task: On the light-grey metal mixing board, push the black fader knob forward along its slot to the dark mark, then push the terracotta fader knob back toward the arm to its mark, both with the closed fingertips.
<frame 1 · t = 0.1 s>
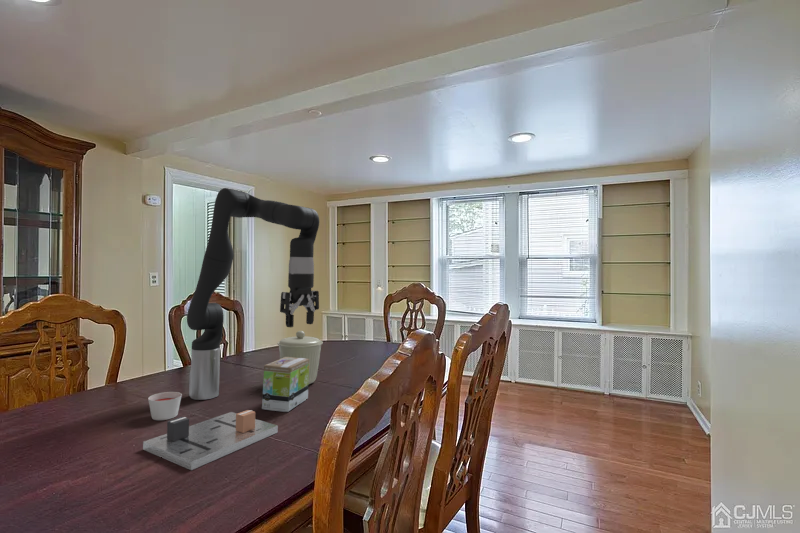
hand: (299, 325, 125), 29 cm above the table, tool pointing down, fingers open, 8 cm apart
fader black: (178, 428, 107), point 4 cm above the table, slide at -5.0 cm
fader terracotta: (245, 420, 113), point 4 cm above the table, slide at 5.0 cm
canister: (299, 383, 167), on the table
tea box: (286, 404, 141), on the table
candle: (164, 417, 127), on the table
mixing board: (214, 440, 110), on the table
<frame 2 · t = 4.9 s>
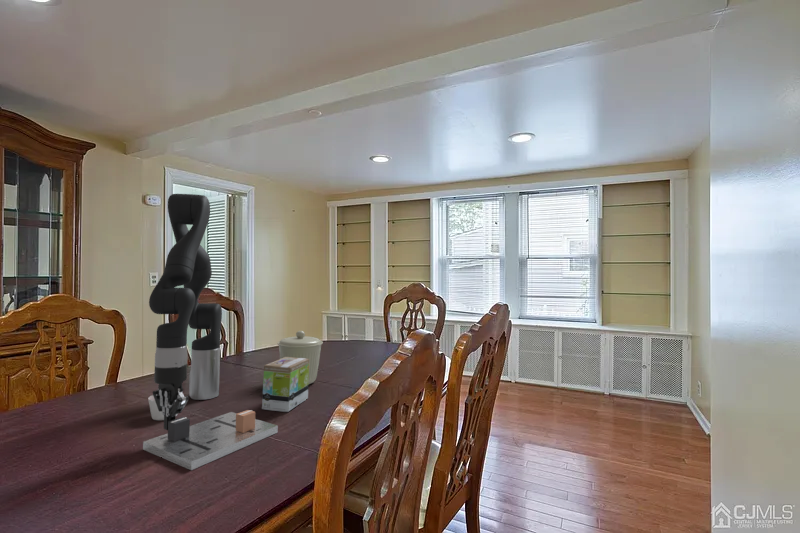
hand: (169, 429, 108), 4 cm above the table, tool pointing down, fingers closed
fader black: (178, 428, 106), point 4 cm above the table, slide at -4.7 cm, touching gripper
everything else where it was.
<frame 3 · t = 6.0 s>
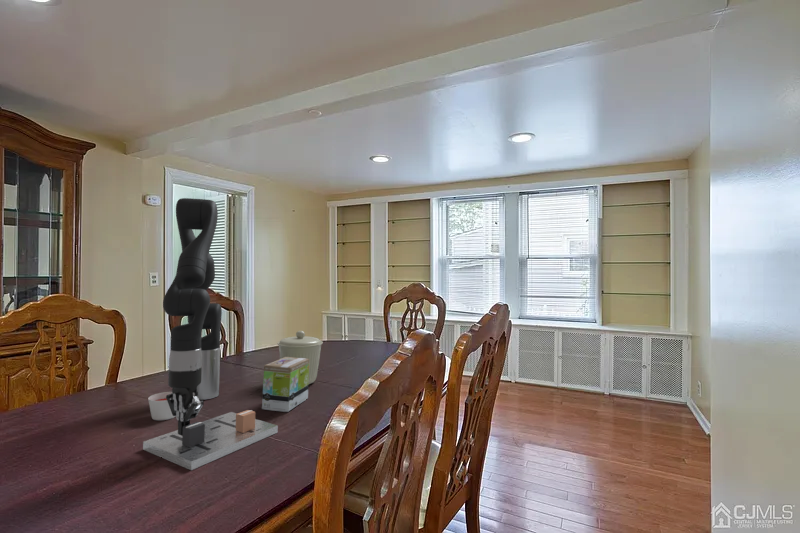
hand: (183, 434, 105), 4 cm above the table, tool pointing down, fingers closed
fader black: (193, 434, 103), point 4 cm above the table, slide at 1.5 cm, touching gripper
everything else where it was.
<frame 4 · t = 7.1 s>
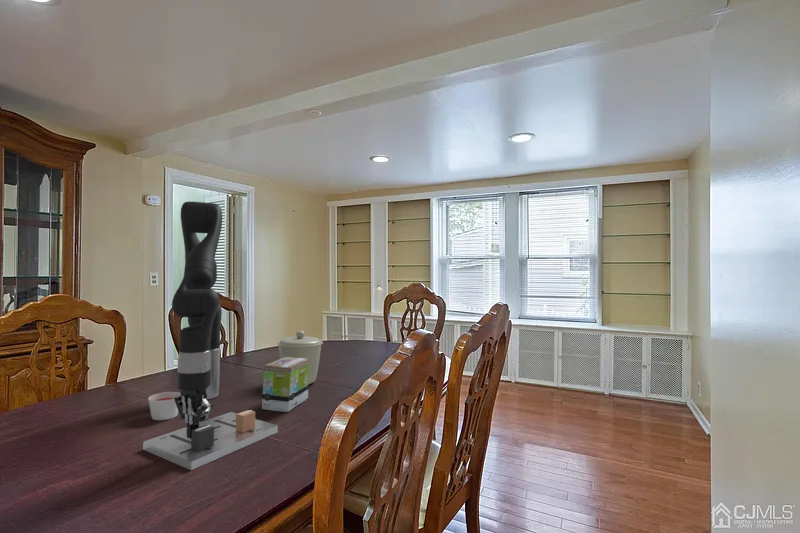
hand: (192, 437, 103), 4 cm above the table, tool pointing down, fingers closed
fader black: (202, 437, 101), point 4 cm above the table, slide at 5.2 cm, touching gripper
everything else where it was.
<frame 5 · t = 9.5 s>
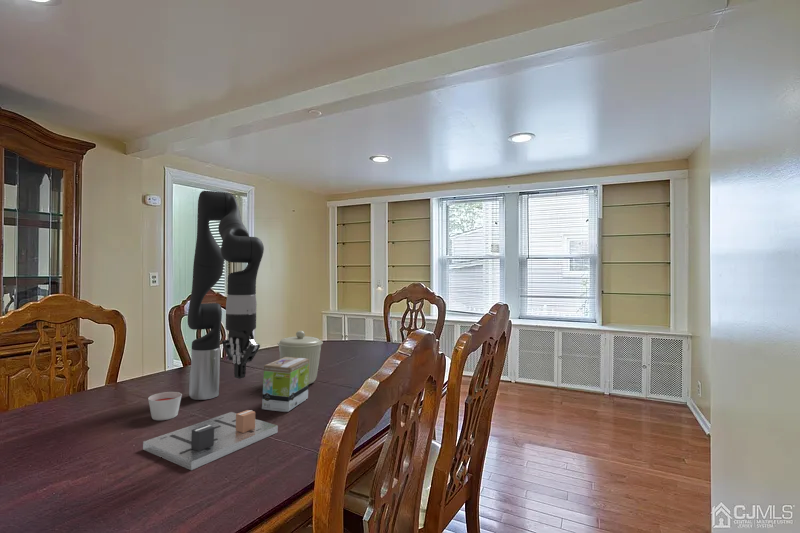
hand: (239, 377, 108), 18 cm above the table, tool pointing down, fingers closed
fader black: (202, 437, 101), point 4 cm above the table, slide at 5.2 cm
everything else where it was.
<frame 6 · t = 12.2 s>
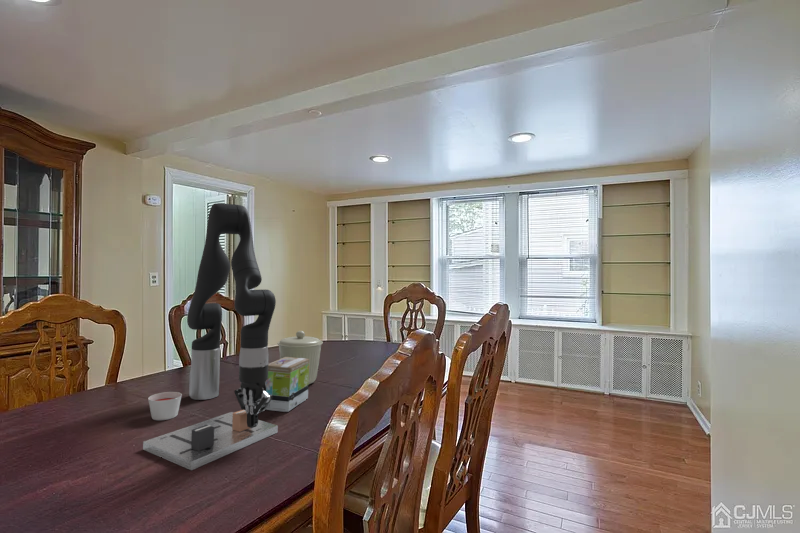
hand: (252, 426, 112), 3 cm above the table, tool pointing down, fingers closed
fader terracotta: (242, 419, 113), point 4 cm above the table, slide at 3.6 cm, touching gripper
everything else where it was.
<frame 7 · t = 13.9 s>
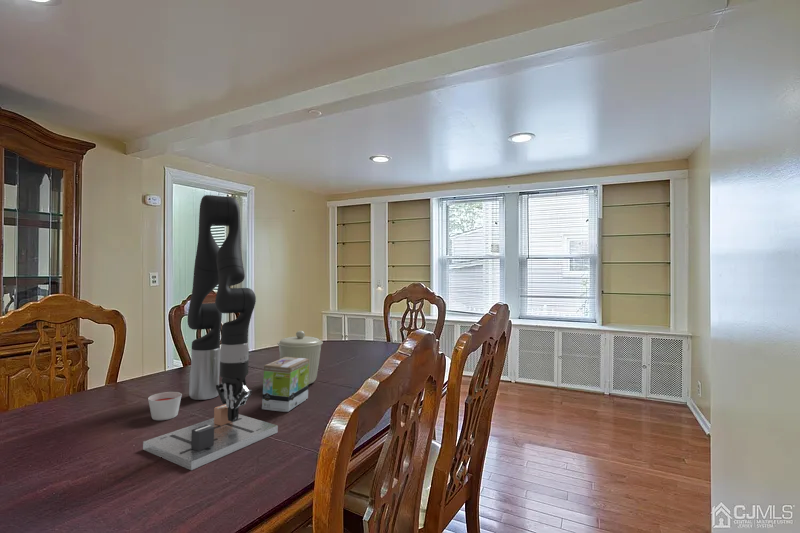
hand: (232, 420, 115), 3 cm above the table, tool pointing down, fingers closed
fader terracotta: (223, 414, 117), point 4 cm above the table, slide at -4.3 cm, touching gripper
everything else where it was.
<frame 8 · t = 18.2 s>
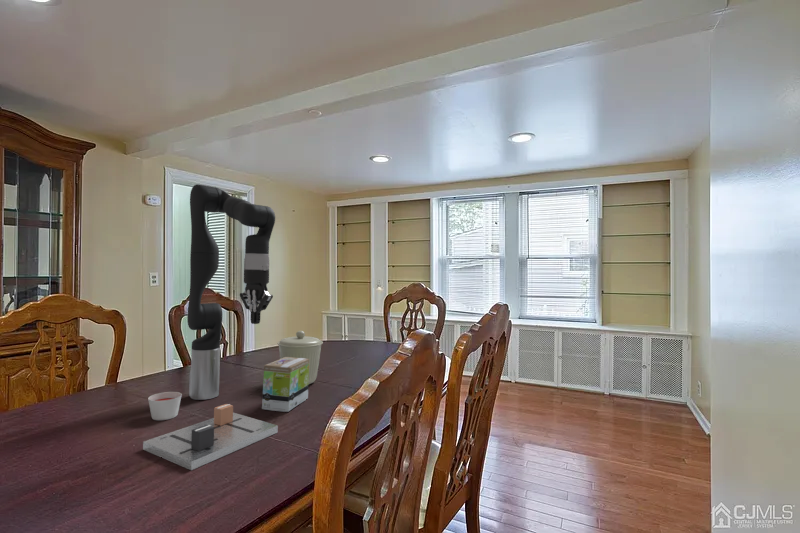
hand: (255, 323, 129), 29 cm above the table, tool pointing down, fingers closed
fader terracotta: (223, 414, 117), point 4 cm above the table, slide at -4.3 cm
everything else where it was.
at the end: fader black slide at 5.2 cm; fader terracotta slide at -4.3 cm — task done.
